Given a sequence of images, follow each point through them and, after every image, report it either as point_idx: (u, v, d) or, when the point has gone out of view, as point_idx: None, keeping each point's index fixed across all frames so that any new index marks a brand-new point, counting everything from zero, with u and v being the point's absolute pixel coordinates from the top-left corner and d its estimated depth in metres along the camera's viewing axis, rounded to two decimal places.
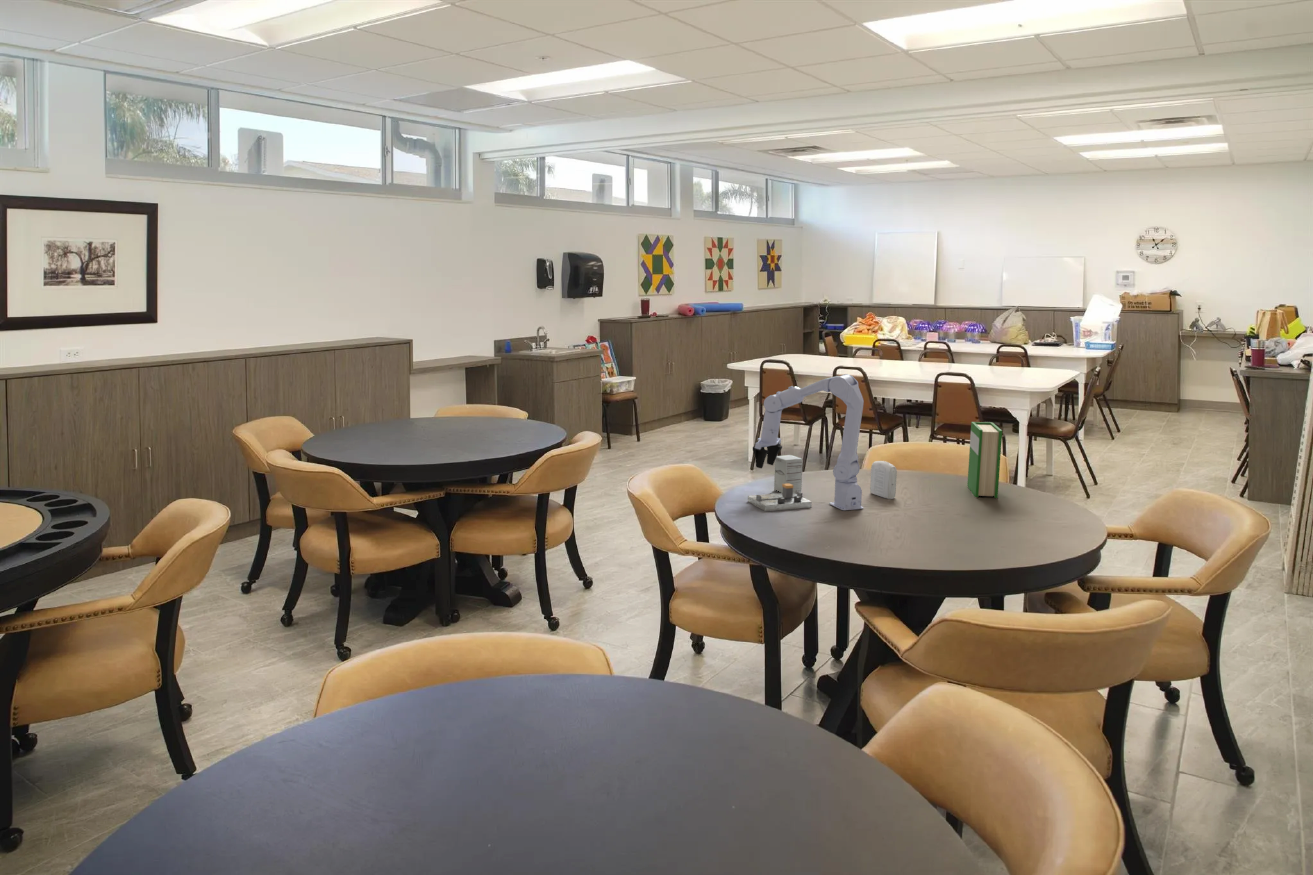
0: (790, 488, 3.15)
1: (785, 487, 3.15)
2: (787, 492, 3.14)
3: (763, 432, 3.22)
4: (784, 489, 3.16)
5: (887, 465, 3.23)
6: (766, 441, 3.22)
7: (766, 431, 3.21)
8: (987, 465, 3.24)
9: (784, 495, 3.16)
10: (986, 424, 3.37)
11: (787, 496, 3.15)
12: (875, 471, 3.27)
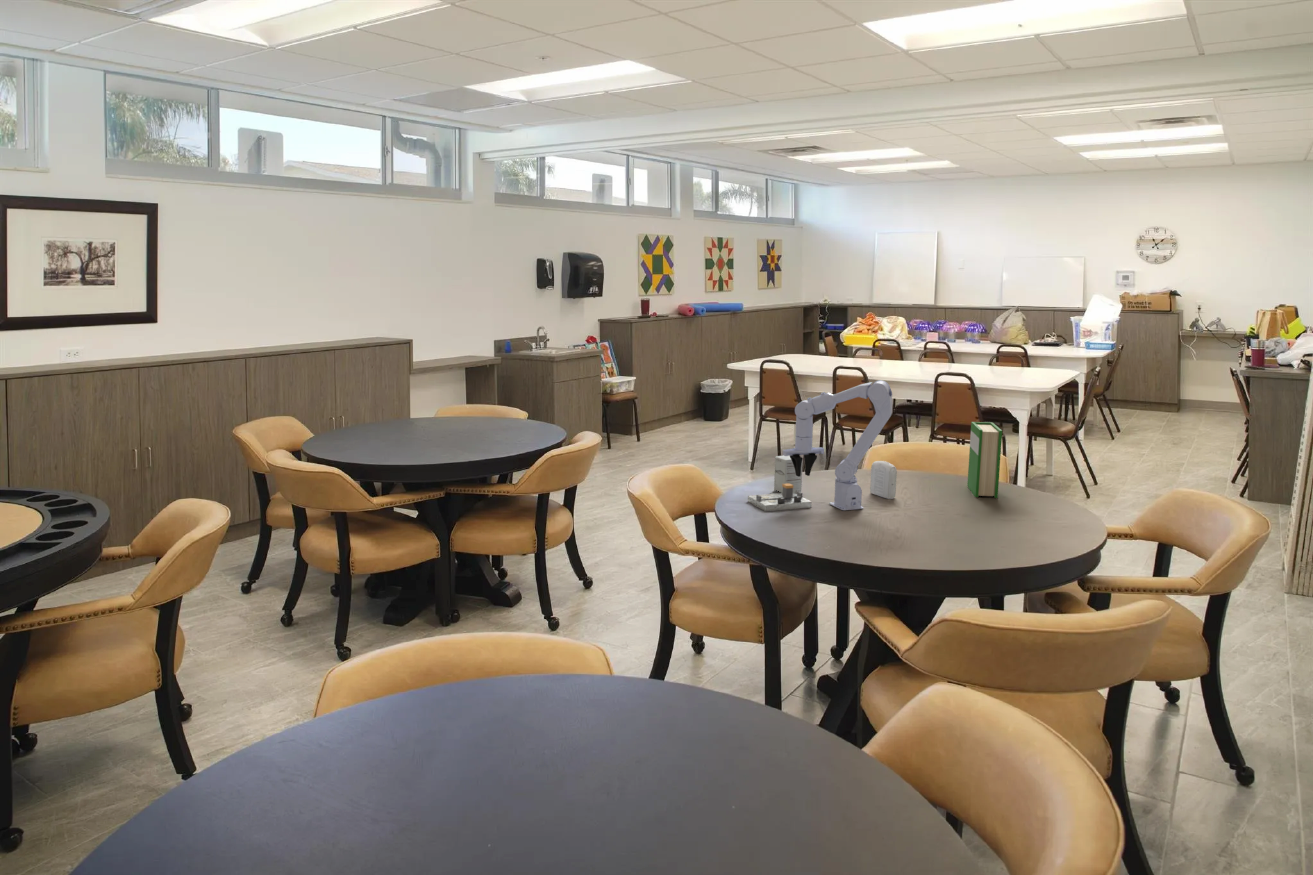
0: (790, 488, 3.15)
1: (785, 487, 3.15)
2: (787, 492, 3.14)
3: (795, 440, 3.15)
4: (784, 489, 3.16)
5: (887, 465, 3.23)
6: (797, 448, 3.14)
7: (796, 438, 3.14)
8: (987, 465, 3.24)
9: (784, 495, 3.16)
10: (986, 424, 3.37)
11: (787, 496, 3.15)
12: (875, 471, 3.27)
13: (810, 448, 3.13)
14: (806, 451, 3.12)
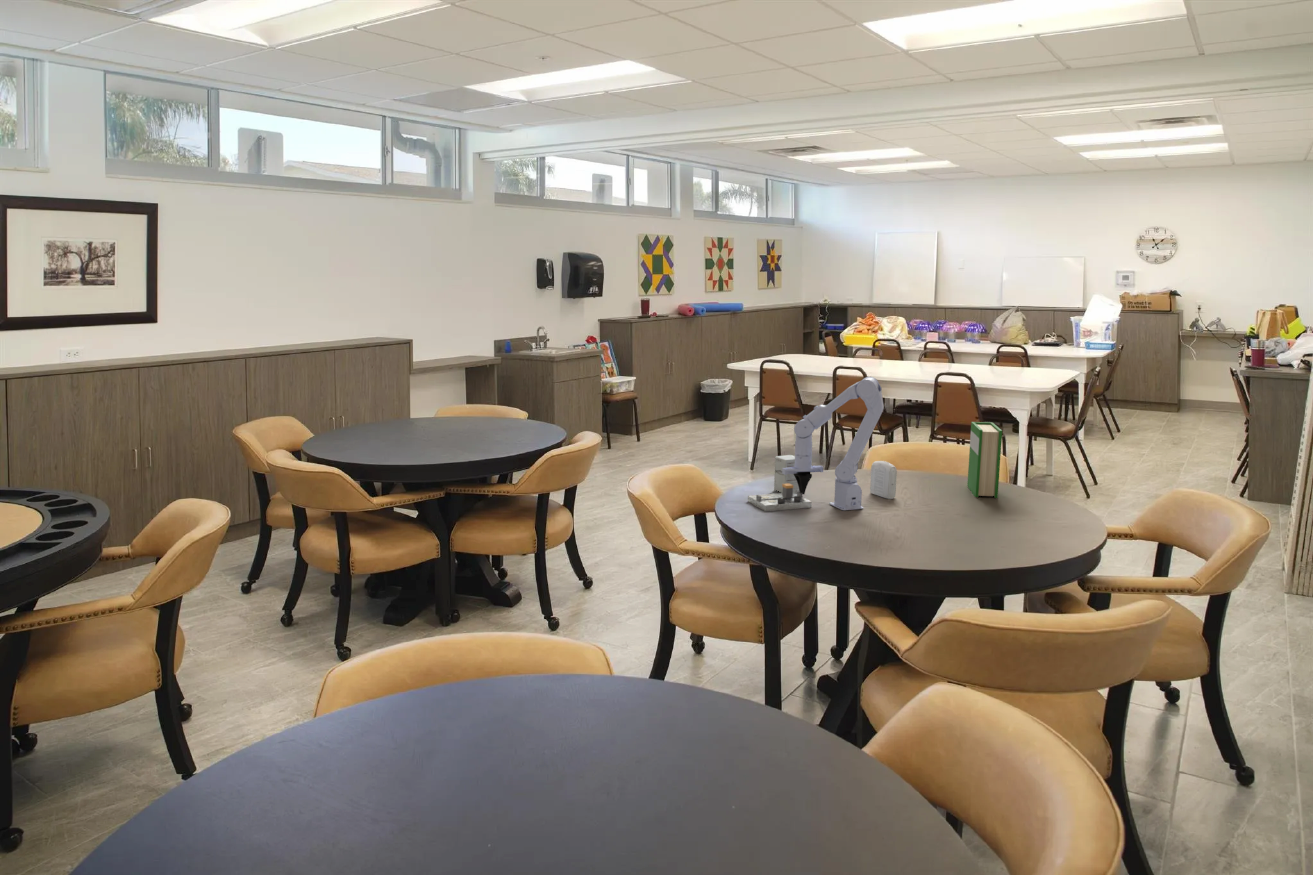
0: (790, 488, 3.15)
1: (785, 487, 3.15)
2: (787, 492, 3.14)
3: None
4: (784, 489, 3.16)
5: (887, 465, 3.23)
6: (796, 467, 3.15)
7: (795, 457, 3.15)
8: (987, 465, 3.24)
9: (784, 495, 3.16)
10: (986, 424, 3.37)
11: (787, 496, 3.15)
12: (875, 471, 3.27)
13: (809, 466, 3.14)
14: (805, 470, 3.14)
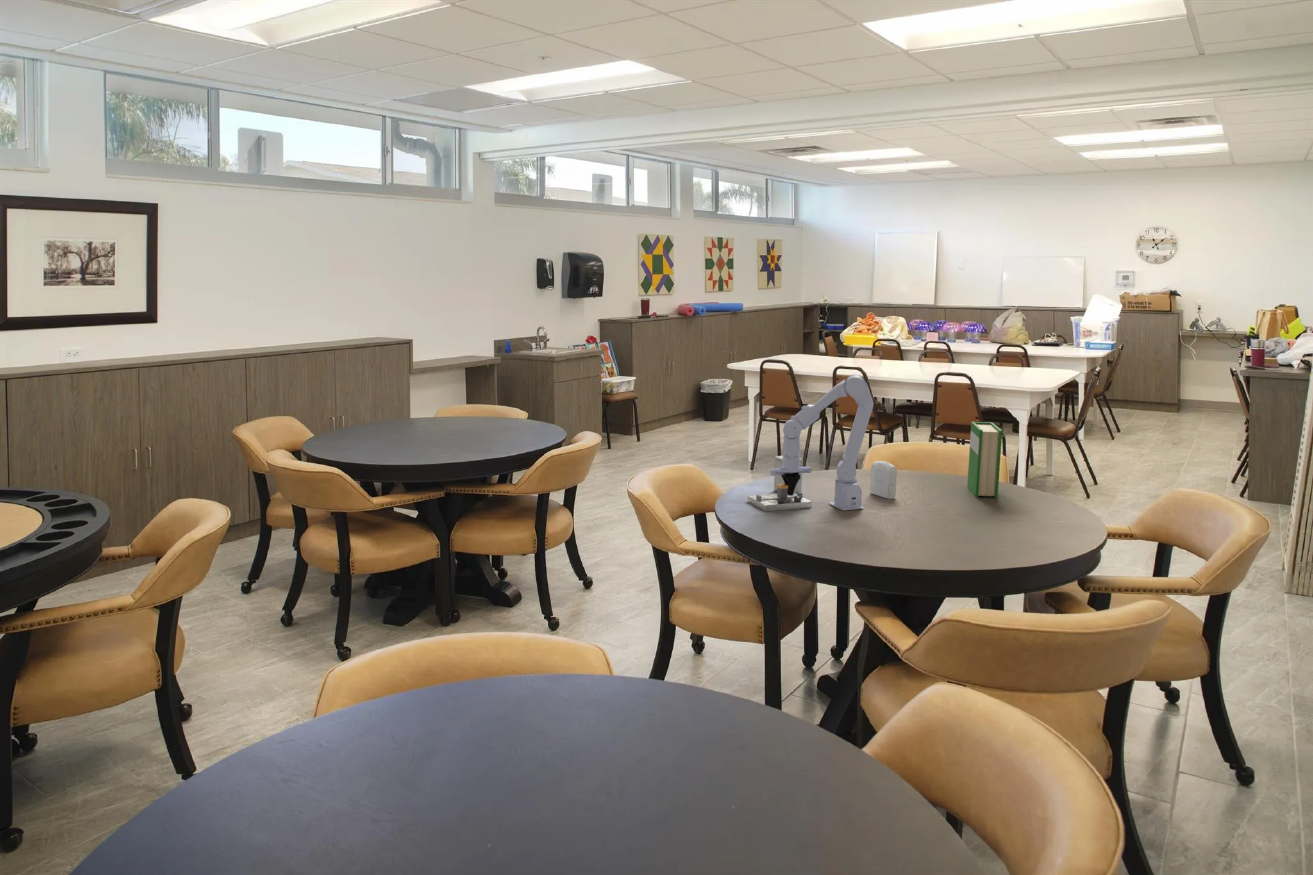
0: (785, 488, 3.14)
1: (780, 487, 3.14)
2: (782, 492, 3.14)
3: None
4: (779, 489, 3.15)
5: (887, 465, 3.23)
6: (784, 468, 3.13)
7: (783, 457, 3.13)
8: (987, 465, 3.24)
9: (779, 495, 3.15)
10: (986, 424, 3.37)
11: (782, 496, 3.14)
12: (875, 471, 3.27)
13: (797, 467, 3.13)
14: (793, 470, 3.12)
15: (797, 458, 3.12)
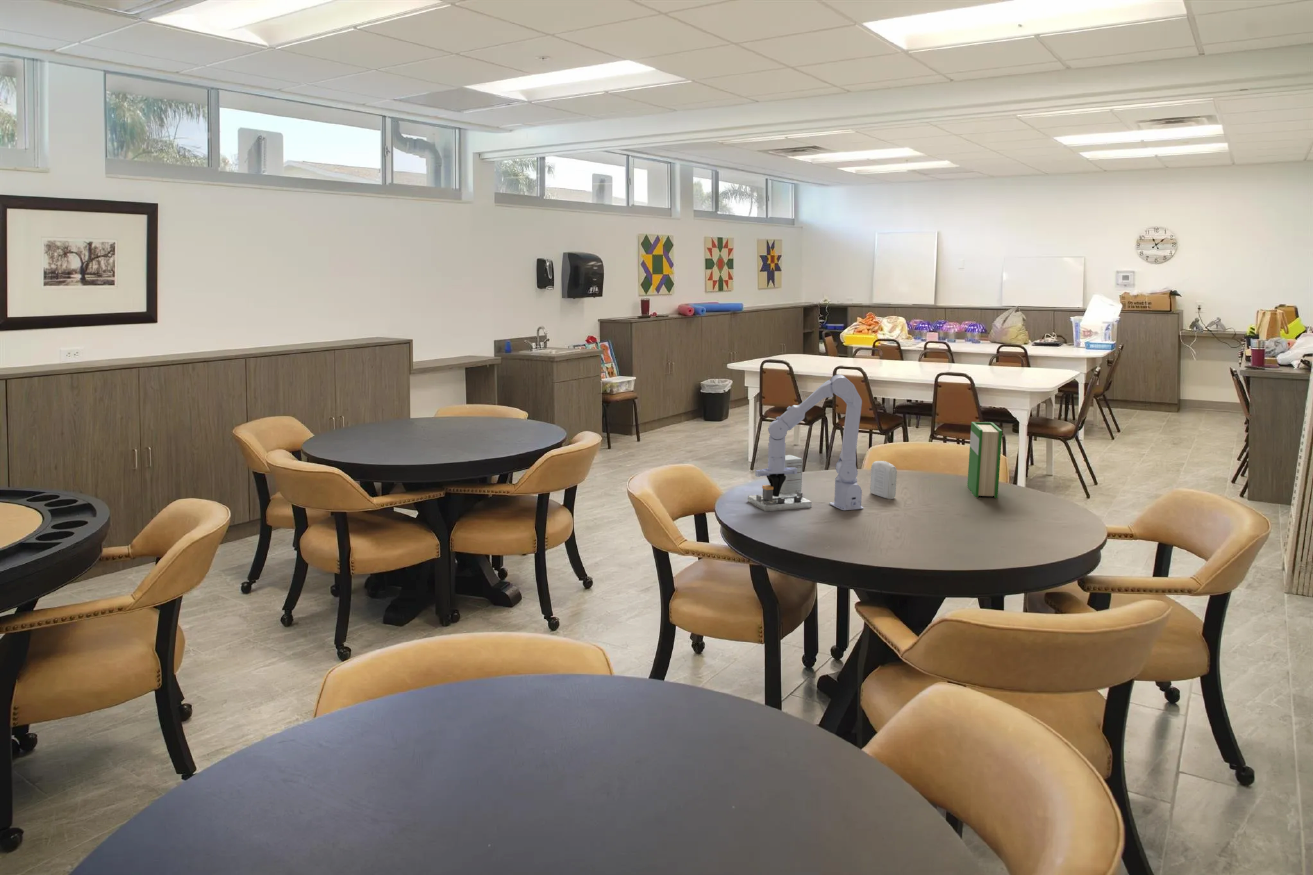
0: (770, 490, 3.12)
1: (765, 489, 3.12)
2: (767, 494, 3.12)
3: (768, 460, 3.13)
4: (764, 491, 3.13)
5: (887, 465, 3.23)
6: (769, 469, 3.12)
7: (769, 458, 3.12)
8: (987, 465, 3.24)
9: (764, 497, 3.13)
10: (986, 424, 3.37)
11: (767, 498, 3.12)
12: (875, 471, 3.27)
13: (783, 468, 3.11)
14: (779, 472, 3.10)
15: (782, 459, 3.10)
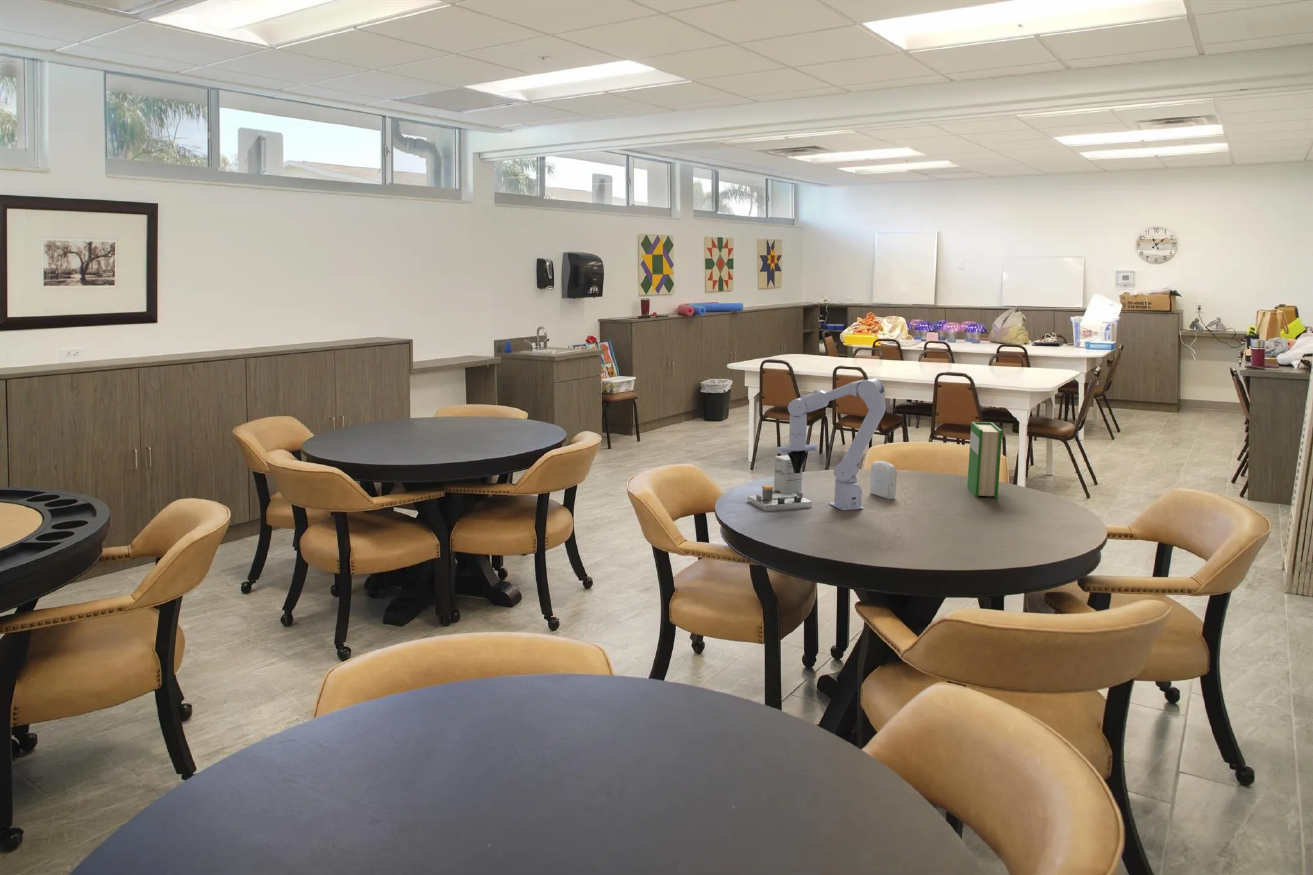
0: (770, 490, 3.12)
1: (765, 489, 3.12)
2: (767, 494, 3.12)
3: (789, 437, 3.17)
4: (764, 491, 3.13)
5: (887, 465, 3.23)
6: (791, 446, 3.16)
7: (790, 436, 3.16)
8: (987, 465, 3.24)
9: (764, 497, 3.13)
10: (986, 424, 3.37)
11: (767, 498, 3.12)
12: (875, 471, 3.27)
13: (804, 445, 3.16)
14: (800, 448, 3.15)
15: (804, 436, 3.15)
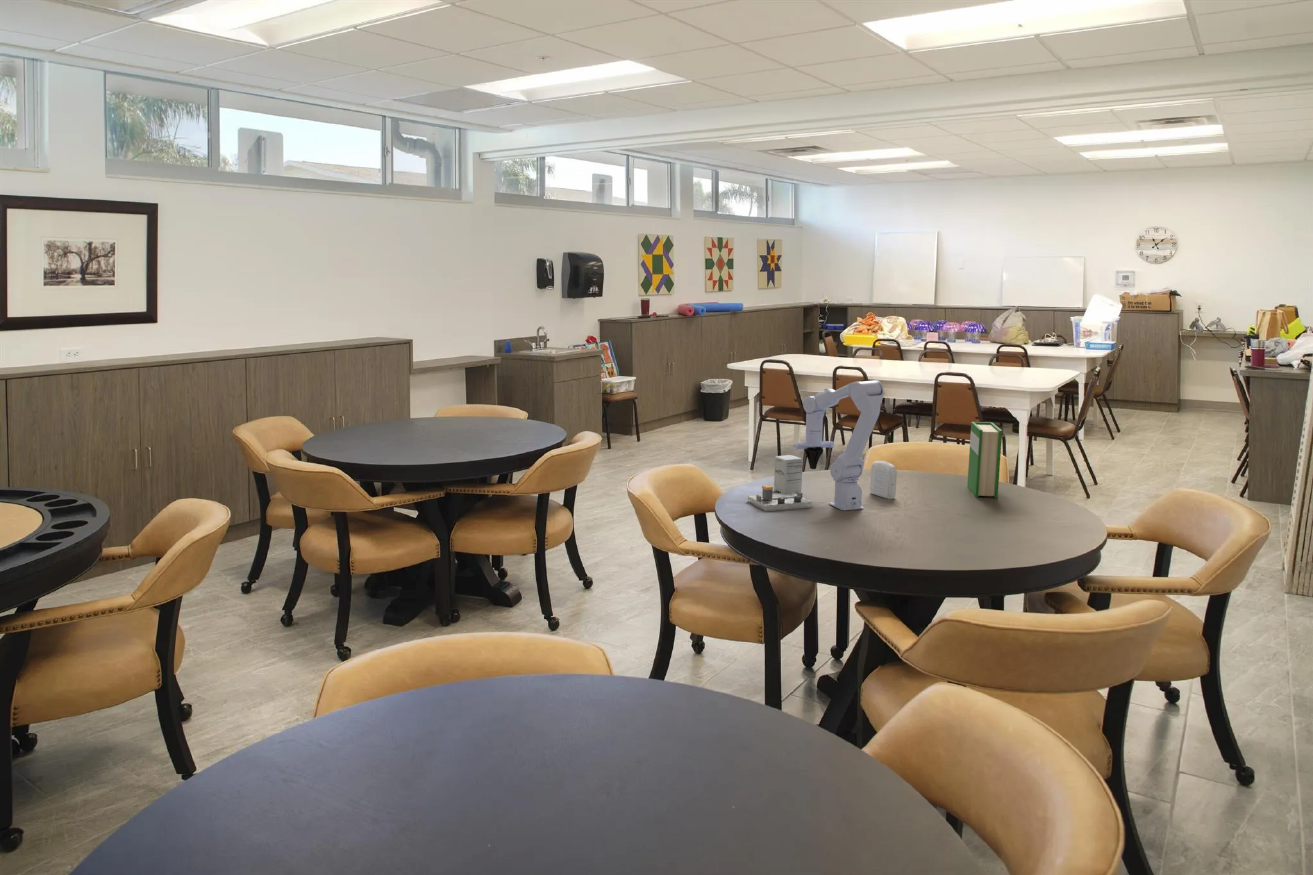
0: (770, 490, 3.12)
1: (765, 489, 3.12)
2: (767, 494, 3.12)
3: None
4: (764, 491, 3.13)
5: (887, 465, 3.23)
6: (807, 442, 3.22)
7: (806, 432, 3.22)
8: (987, 465, 3.24)
9: (764, 497, 3.13)
10: (986, 424, 3.37)
11: (767, 498, 3.12)
12: (875, 471, 3.27)
13: (820, 442, 3.22)
14: (816, 445, 3.21)
15: (820, 433, 3.21)
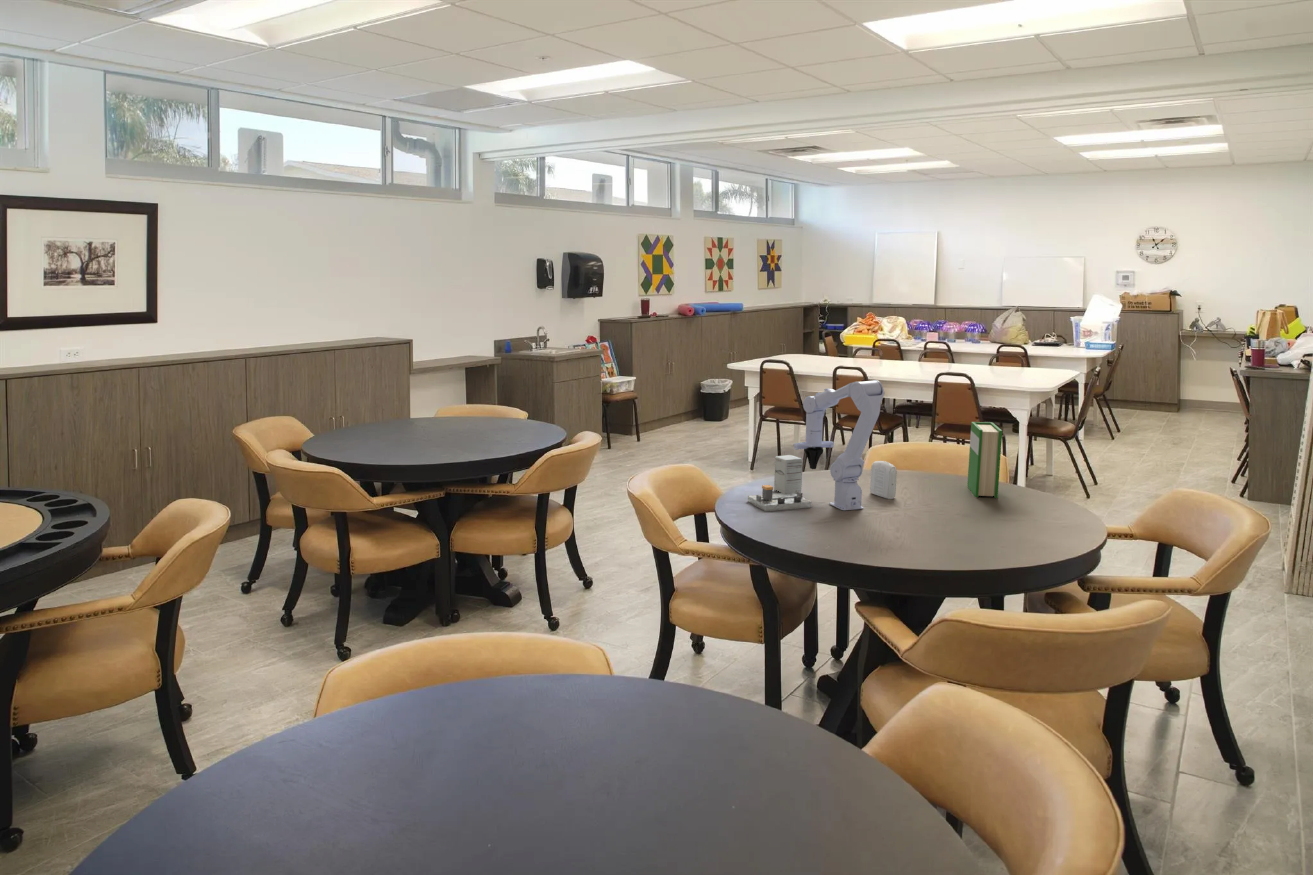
0: (770, 490, 3.12)
1: (765, 489, 3.12)
2: (767, 494, 3.12)
3: None
4: (764, 491, 3.13)
5: (887, 465, 3.23)
6: (807, 442, 3.22)
7: (806, 432, 3.22)
8: (987, 465, 3.24)
9: (764, 497, 3.13)
10: (986, 424, 3.37)
11: (767, 498, 3.12)
12: (875, 471, 3.27)
13: (820, 442, 3.22)
14: (816, 445, 3.21)
15: (820, 433, 3.21)
